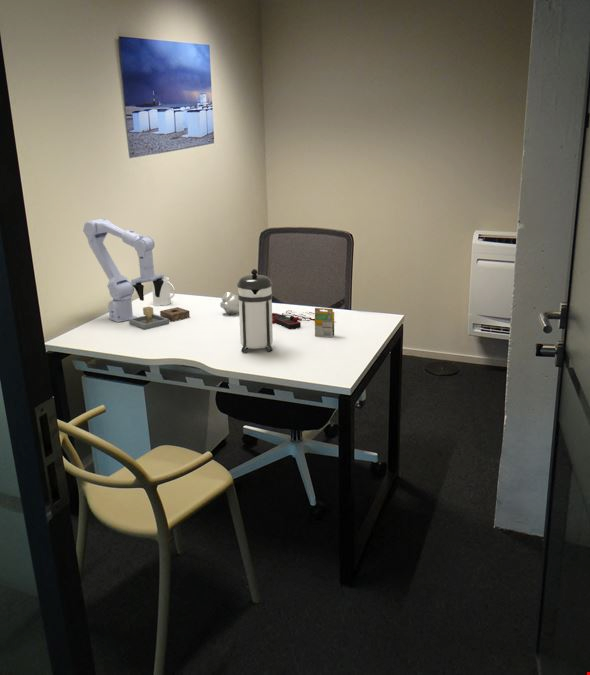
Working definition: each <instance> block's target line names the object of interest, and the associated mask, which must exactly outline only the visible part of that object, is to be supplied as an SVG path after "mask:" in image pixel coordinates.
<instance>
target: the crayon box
mask: <svg viewBox="0 0 590 675" xmlns="http://www.w3.org/2000/svg"><path fill="white" fill-rule="evenodd" d="M314 314H315V315H314V319H315V321H314V336H315V337H319V338H320V337H321V338H322V337H324V338H332V337H335V312H334V309H333V308H321V307H320V308H319V307H314Z"/></svg>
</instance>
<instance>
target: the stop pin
mask: <svg viewBox="0 0 590 675" xmlns="http://www.w3.org/2000/svg"><path fill="white" fill-rule="evenodd" d="M142 312H143V316H145V318H146V323H151V322H152V315H154V314H155V313H154V307H152V306H145V307H142Z"/></svg>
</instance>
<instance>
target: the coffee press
mask: <svg viewBox="0 0 590 675" xmlns="http://www.w3.org/2000/svg"><path fill="white" fill-rule="evenodd" d="M250 273H251V274H249V275H244V276H242V277H241V278H240V279H239V280H238V282H237V284H236V287H237V289H238V293H237V296H238V299H239V312H238V313H239V336H240V339H239V340H240V344H241V345H242V347H241V351H240V352H241V353H243V354H246V353H247V352H248V351H249V349H253V350H254V349H255V350H257V349H265V351H266V352H267V353H271V352H273V347H272V346H271V345H272V344H273V338H274V337H273V323H272V313H273V301H272V299H273V292H272V287H273V281H272V280H271V279H270V278H269V277H268V276H266V275H262V274H258V270H257V269H256V268H253V269H252V270H251V272H250Z"/></svg>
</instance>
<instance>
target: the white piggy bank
mask: <svg viewBox="0 0 590 675" xmlns="http://www.w3.org/2000/svg"><path fill="white" fill-rule="evenodd" d="M219 306H220V308H222V309H223V310H224V312H226V313H227V314H229V315H235V314H238V313H239V299H238V294H234V293H232V291H226V292H225V293H224V294H223V295H222V297H221V302H220V304H219Z"/></svg>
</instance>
